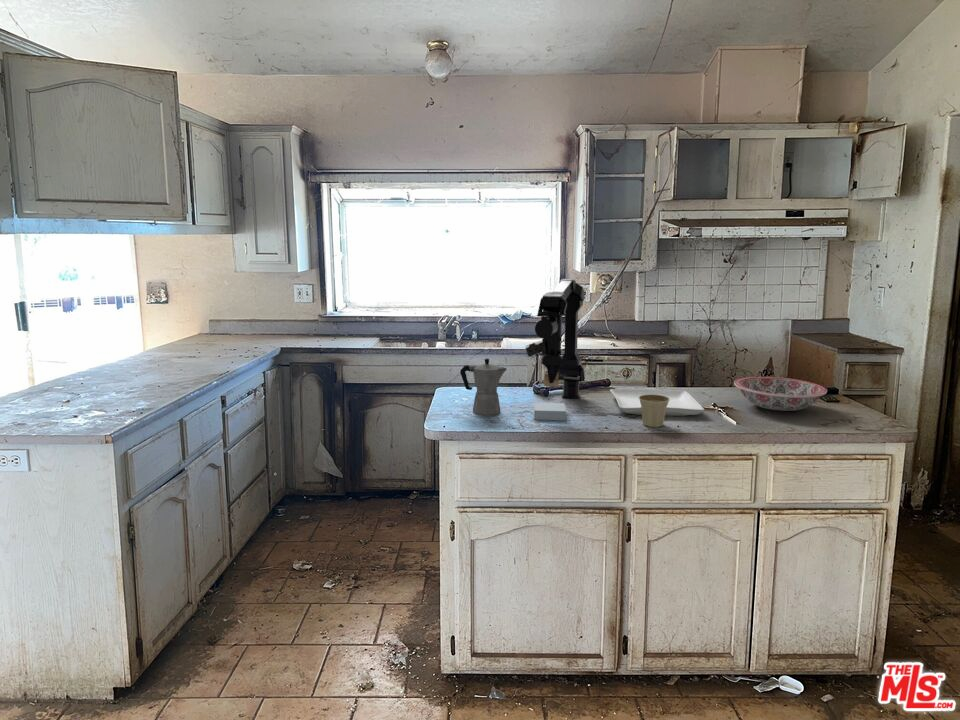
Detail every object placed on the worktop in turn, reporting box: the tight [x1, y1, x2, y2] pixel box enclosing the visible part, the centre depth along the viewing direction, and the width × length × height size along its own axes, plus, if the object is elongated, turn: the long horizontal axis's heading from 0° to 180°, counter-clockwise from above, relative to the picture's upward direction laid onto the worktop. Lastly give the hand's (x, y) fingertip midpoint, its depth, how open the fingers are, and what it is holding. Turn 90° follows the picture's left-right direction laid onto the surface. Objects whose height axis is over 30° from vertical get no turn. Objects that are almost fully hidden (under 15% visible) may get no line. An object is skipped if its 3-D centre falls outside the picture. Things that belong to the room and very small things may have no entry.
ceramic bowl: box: [734, 376, 828, 412], centre depth 235 cm, size 29×29×8 cm
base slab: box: [533, 402, 567, 421], centre depth 224 cm, size 10×10×3 cm
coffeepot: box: [459, 358, 508, 416], centre depth 228 cm, size 15×9×18 cm, turn 88°
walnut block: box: [543, 370, 560, 387], centre depth 222 cm, size 4×4×4 cm
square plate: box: [609, 388, 705, 417], centre depth 236 cm, size 27×27×4 cm
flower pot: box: [639, 394, 670, 428], centre depth 214 cm, size 9×9×9 cm
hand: (551, 381), depth 222 cm, fingers closed on walnut block, 4 cm apart
